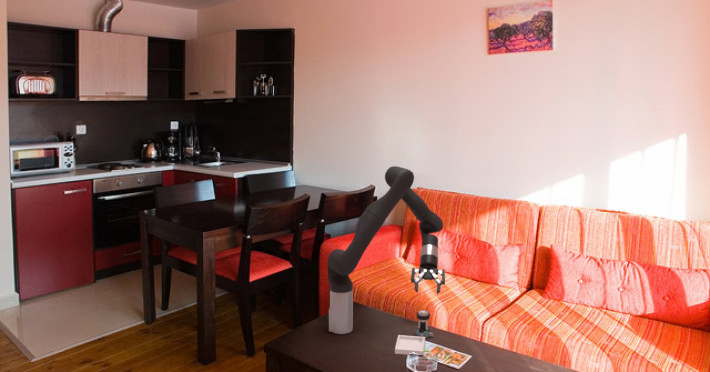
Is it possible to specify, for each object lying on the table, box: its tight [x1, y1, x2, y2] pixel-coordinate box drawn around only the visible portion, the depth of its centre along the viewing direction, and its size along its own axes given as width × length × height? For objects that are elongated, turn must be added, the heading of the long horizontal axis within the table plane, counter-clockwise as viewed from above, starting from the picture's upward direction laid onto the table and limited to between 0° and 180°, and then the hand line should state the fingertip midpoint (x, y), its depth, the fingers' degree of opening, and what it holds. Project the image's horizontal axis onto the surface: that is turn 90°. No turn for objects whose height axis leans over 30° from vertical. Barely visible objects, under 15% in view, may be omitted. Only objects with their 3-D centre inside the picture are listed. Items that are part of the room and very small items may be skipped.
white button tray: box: [394, 334, 426, 356], centre depth 204 cm, size 10×12×2 cm
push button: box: [416, 309, 434, 338], centre depth 213 cm, size 7×5×10 cm
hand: (427, 292), depth 223 cm, fingers open, 8 cm apart
